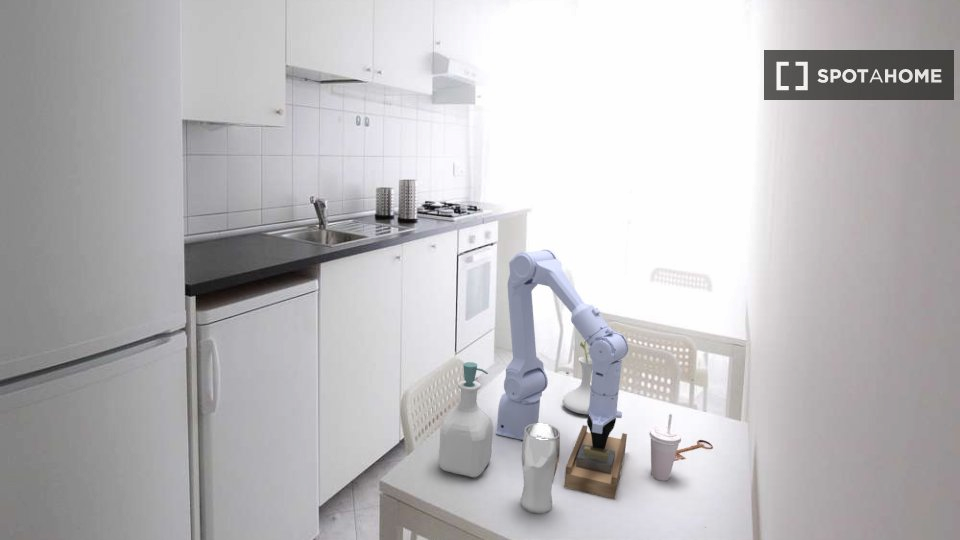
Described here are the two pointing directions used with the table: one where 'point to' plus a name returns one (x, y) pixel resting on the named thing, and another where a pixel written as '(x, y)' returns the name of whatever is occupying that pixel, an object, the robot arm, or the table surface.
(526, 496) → the beer glass
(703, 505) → the table surface
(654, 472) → the smoothie
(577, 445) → the wooden tray
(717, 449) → the table surface
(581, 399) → the flower in vase
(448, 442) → the soap bottle
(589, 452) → the lever cap
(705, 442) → the key
